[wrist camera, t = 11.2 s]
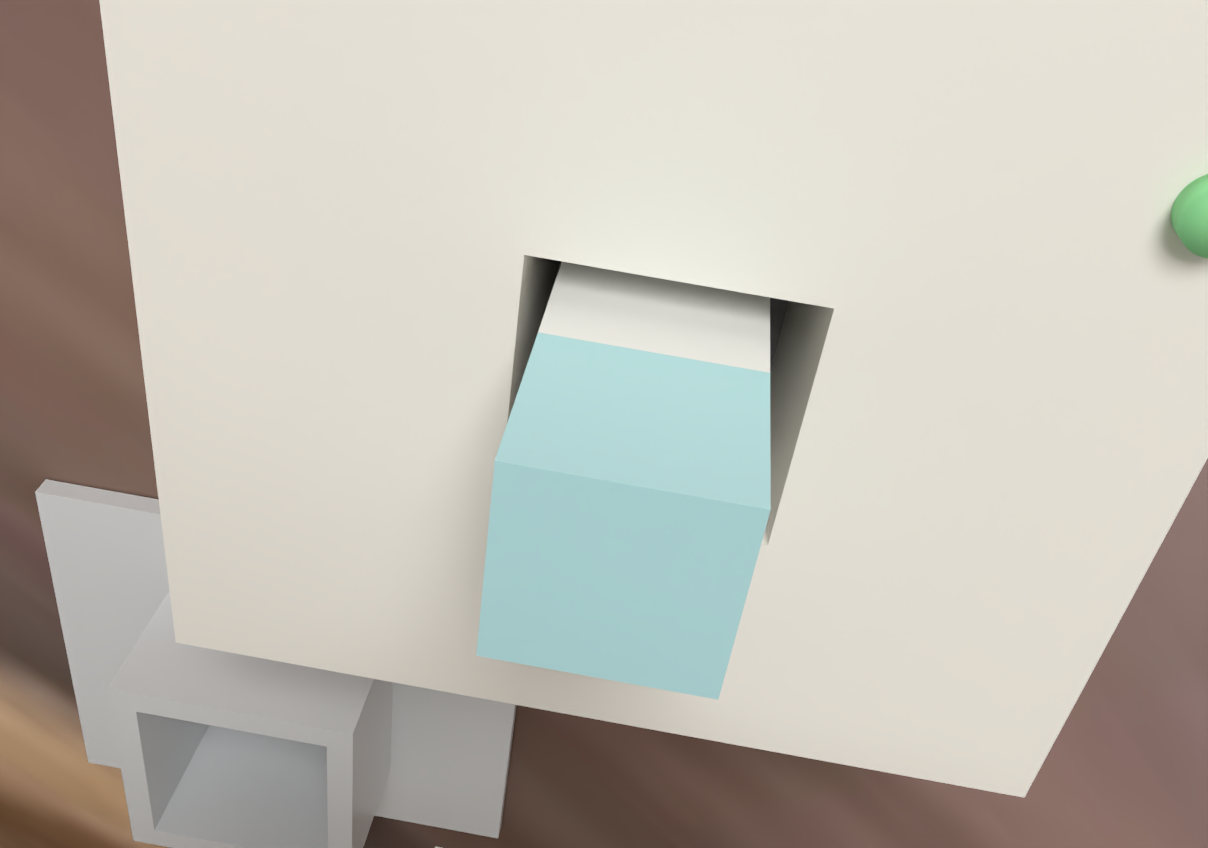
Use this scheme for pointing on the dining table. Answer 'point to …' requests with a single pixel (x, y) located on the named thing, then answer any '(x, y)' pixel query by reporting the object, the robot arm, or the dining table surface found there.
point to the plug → (631, 483)
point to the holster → (248, 711)
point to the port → (696, 256)
